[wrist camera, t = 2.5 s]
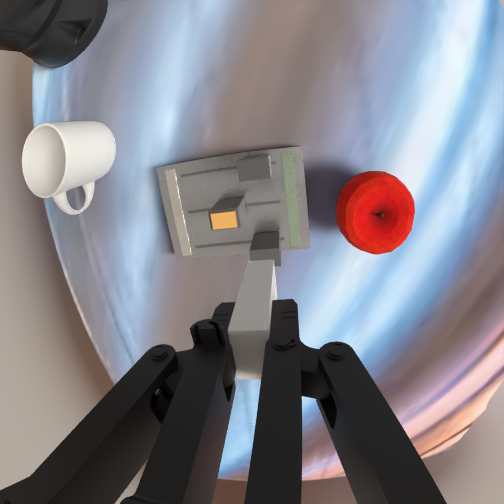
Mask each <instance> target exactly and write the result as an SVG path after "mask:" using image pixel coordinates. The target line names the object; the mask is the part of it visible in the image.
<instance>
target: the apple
mask: <svg viewBox="0 0 504 504" xmlns="http://www.w3.org/2000/svg"><path fill="white" fill-rule="evenodd" d="M414 214H415V208H414V200H413V198H412V195H411V193H410V192H409V190H408V189H407V188H406V186H405V185H404V184H403V183H402V182H401V181H400V180H399V179H398V178H397V177H395V176H393V175H391V174H388V173H386V172H382V171H368V172H364V173H361V174H358V175H356V176H354V177H353V178H352V179H351V180H349V181H348V182H347V183H346V184H345V186H344V187H343V188H342V189H341V192H340V194H339V197H338V200H337V204H336V218H337V223H338V226H339V229H340V231H341V233H342V234H343V235H344V237H345V238H346V239H347V241H348V242H349V243H350V244H352V245H353V246H354V247H356V248H358V249H360V250H362V251H365V252H368V253H371V254H383V253H387V252H391V251H393V250H394V249H396V248H397V247H398V246H400V245H401V244H402V243H403V242H404V241H405V240H406V238H407V236H408V235H409V233H410V232H411V230H412V225H413V219H414Z"/></svg>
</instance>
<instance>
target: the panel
mask: <svg viewBox="0 0 504 504" xmlns="http://www.w3.org/2000/svg"><path fill="white" fill-rule="evenodd" d="M267 154H270V157H271V165H272V176H271V178H268V179H259V180H251V181H243V182H239V177H238V170H237V164H236V161H237V160H239V159H241V158H243V157H251V156H259V155H267ZM156 169H157V175H158V180H159V185H160V190H161V195H162V200H163V205H164V209H165V214H166V218H167V223H168V227H169V232H170V236H171V240H172V244H173V248H174V252H175V256H176V260H181V259H192V258H204V257H215V256H227V255H238V254H250V251H249V250H250V246H251V243H252V239H253V235H254V234H259V233H270V232H279V234H280V243H281V251H284V250H295V249H306V248H310V236H309V221H308V209H307V197H306V186H305V175H304V166H303V157H302V148H301V146H296V147H285V148H275V149H266V150H258V151H250V152H242V153H235V154H228V155H222V156H216V157H209V158H204V159H198V160H192V161H187V162H182V163H177V164H172V165H167V166H163V167H159V168H156ZM241 197H244V200H245V207H246V217H245V219H244V221H243V224H242V226H241V228H232V229H223V230H214V231H211V225H210V220H209V215H208V211H209V210H210V209H211V208H212V207H213V206H214V205H215V203H216V202H217V201H218V200H225V199H233V198H241Z"/></svg>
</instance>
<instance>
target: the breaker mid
mask: <svg viewBox="0 0 504 504" xmlns="http://www.w3.org/2000/svg"><path fill="white" fill-rule="evenodd" d="M208 215H209V220H210V225H211V231H214V230H223V229H232V228H241V226H242V224H243V221H244V219H245V217H246V207H245V200H244V197H241V198H233V199H225V200H218V201H217V202H216V203H215V205H214V206H213V207H212V208H211V209H210V210H209V211H208Z"/></svg>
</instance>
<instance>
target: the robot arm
mask: <svg viewBox="0 0 504 504" xmlns="http://www.w3.org/2000/svg"><path fill="white" fill-rule="evenodd" d="M107 6H108V1H107V0H0V50H8V51H17V52H22V53H23V54H25V55H26V56H28V57H30V58H31V59H33V60H34V62H36V63H37V64H39V65H41V66H46V67H60V66H63V65H65V64H67V63H69V62H70V61H72V60H73V59H75V58H76V57H77V56H78V55H79V54H81V53H82V52H83V51H84V50H85V48H86V47H87V46H88V45H89V44H90V43H91V41H92V40H93V39H94V37H95V36H96V34H97V33H98V31H99V29H100V27H101V25H102V23H103V21H104V18H105V16H106V12H107ZM190 331H191V335H192V338H193V342H194V347H193V348H192V349H190V350H186V351H180V352H175V349H174V348H173V347H172V346H170V345H165V344H162V345H157V346H154V347H152V348H151V349H149V350H148V351H147V352H146V353H145V354H144V355H143V356H142V357H141V358H140V359H139V360H138V361H137V362H136V363H135V365H134V366H133V367H132V368H131V369H130V370H129V371H128V372H127V373H126V374H125V375H124V376H123V377H122V378H121V379H120V380H119V381H118V383H117V384H116V385H115V386H114V387H113V388H112V389H111V390H110V391H109V392H108V393H107V394H106V395H105V396H104V397H103V398H102V400H101V401H100V402H99V403H98V404H97V405H96V406H95V407H94V408H93V409H92V410H91V411H90V412H89V414H87V416H86V417H85V418H84V419H83V420H82V421H81V422H80V423H79V424H78V425H77V426H76V427H75V429H73V430H72V432H71V433H70V434H69V435H68V436H67V437H66V438H65V439H64V440H63V441H62V442H61V443H60V445H59V446H58V447H57V448H56V449H55V450H54V451H53V452H52V453H51V454H50V455H49V457H47V459H46V460H45V461H44V462H43V463H42V464H41V465H40V466H39V467H38V468H37V469H36V471H35V472H34V473H33V474H32V475H31V476H30V477H28V478H25V479H24V480H22V481H19V482H17V483H15V484H13V485H11V486H9V487H6V488H4V489H2V490H0V504H114V503H115V502H116V501H117V500H118V498H119V497H120V495H121V494H122V493H123V492H124V490H125V489H126V488H127V486H128V485H129V484H130V482H131V481H132V480H133V478H134V477H135V476H136V474H137V473H138V471H139V470H140V469H141V467H142V466H143V465H144V463H145V462H146V460H147V459H148V458H149V459H148V462H147V464H146V467H145V469H144V472H143V475H142V477H141V480H140V483H139V485H138V488H137V490H136V492H135V494H134V495H133V496H130V497H127V498H125V499H123V500H122V501H121V503H120V504H212V500H213V495H214V490H215V486H216V481H217V477H218V472H219V467H220V462H221V458H222V453H223V448H224V443H225V438H226V434H227V429H228V424H229V419H230V414H231V409H232V404H233V399H234V394H235V389H236V385H235V380H234V378H235V373H236V374H237V379H261V386H260V394H259V402H258V410H257V418H256V425H255V433H254V441H253V448H252V455H251V462H250V469H249V476H248V483H247V490H246V496H245V503H244V504H301V485H302V396H305V397H310V398H315V399H316V402H317V404H318V407H319V409H320V411H321V414H322V416H323V419H324V421H325V424H326V426H327V429H328V431H329V434H330V436H331V439H332V441H333V444H334V446H335V449H336V451H337V454H338V456H339V459H340V461H341V464H342V466H343V469H344V471H345V474H346V476H347V479H348V481H349V484H350V486H351V489H352V491H353V493H354V496H355V498H356V501H357V504H447V503H446V502H445V500H444V498H443V496H442V494H441V493H440V491H439V489H438V487H437V485H436V484H435V482H434V480H433V478H432V476H431V475H430V473H429V471H428V470H427V468H426V466H425V464H424V463H423V461H422V459H421V457H420V456H419V454H418V452H417V451H416V449H415V447H414V446H413V444H412V442H411V441H410V439H409V437H408V436H407V434H406V432H405V431H404V429H403V427H402V426H401V424H400V422H399V421H398V419H397V418H396V416H395V414H394V413H393V411H392V409H391V408H390V406H389V405H388V403H387V401H386V400H385V398H384V397H383V395H382V393H381V392H380V390H379V389H378V387H377V386H376V384H375V382H374V381H373V379H372V378H371V376H370V375H369V373H368V371H367V370H366V368H365V367H364V365H363V364H362V362H361V361H360V359H359V358H358V356H357V354H356V353H355V351H354V350H353V348H352V347H350V346H349V345H348V344H346V343H343V342H330V343H327V344H325V345H323V346H322V347H321V348H320V349H314V348H310V347H308V346H306V345H304V344H303V343H302V342H301V341H300V338H299V324H298V307H297V304H296V302H295V301H294V300H293V299H285V300H277V291H276V279H275V267H274V259H272V260H256V261H248V263H247V266H246V269H245V273H244V276H243V280H242V283H241V286H240V290H239V293H238V297H237V300H236V302H227V303H221V304H220V305H219V306H218V307H217V308H216V309H215V311H214V314H213V316H212V319H206V320H201V321H198V322H196V323H195V324H193V325H192V326H191V328H190ZM158 389H159V390H158ZM157 390H158V391H157ZM156 391H157V392H156Z"/></svg>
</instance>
